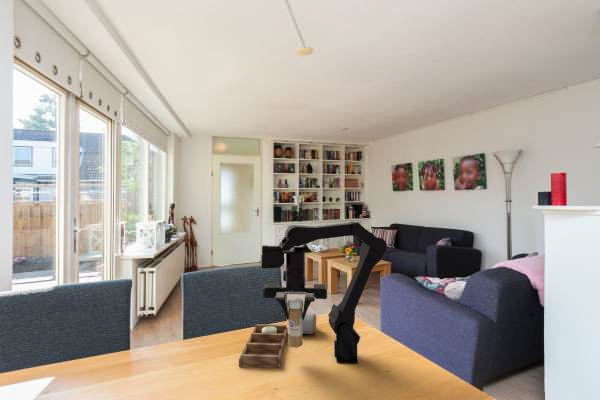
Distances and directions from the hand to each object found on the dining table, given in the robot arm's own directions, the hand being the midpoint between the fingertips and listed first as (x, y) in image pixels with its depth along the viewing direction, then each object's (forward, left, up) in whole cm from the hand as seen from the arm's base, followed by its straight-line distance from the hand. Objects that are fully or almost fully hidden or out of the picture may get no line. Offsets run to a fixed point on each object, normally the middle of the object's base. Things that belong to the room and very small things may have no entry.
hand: (295, 319), depth 90 cm
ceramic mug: (-2, -22, -13) cm, 25 cm away
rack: (+11, -8, -13) cm, 19 cm away
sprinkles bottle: (0, 0, -8) cm, 8 cm away
